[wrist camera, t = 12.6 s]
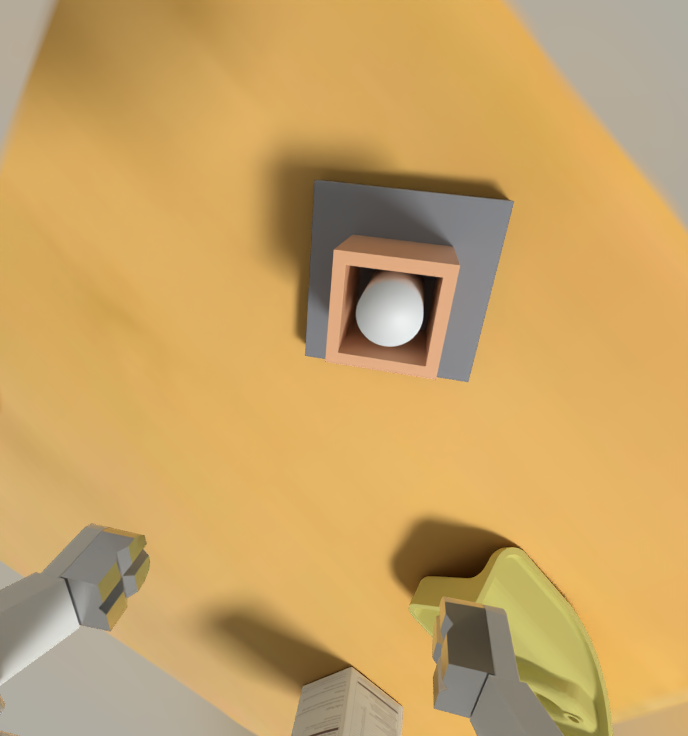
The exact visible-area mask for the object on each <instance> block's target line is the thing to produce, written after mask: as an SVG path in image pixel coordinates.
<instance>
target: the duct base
mask: <svg viewBox="0 0 688 736" xmlns="http://www.w3.org/2000/svg"><path fill="white" fill-rule="evenodd" d="M513 204H514V201H511V200H505V199H495V198H486V197H476V196H467V195H458V194H448V193H439V192H429V191H420V190H411V189H401V188H392V187H383V186H373V185H364V184H354V183H345V182H336V181H326V180H315V184H314V203H313V221H312V239H311V257H310V276H309V294H308V312H307V331H306V349H305V356H310V357H317V358H323V359H325V358H326V345H327V332H328V319H329V306H330V293H331V280H332V267H333V254H334V249H335V248H336V247H338V246H339V245H340V244H341V243H343V242H344V241H345V240H346V239H348V238H349V237H350V236H352V235H361V236H370V237H378V238H386V239H395V240H403V241H411V242H420V243H428V244H436V245H444V246H453V247H454V249H455V252H456V255H457V258H458V261H459V263H460V269H459V273H458V278H457V283H456V288H455V292H454V297H453V302H452V307H451V311H450V316H449V321H448V325H447V330H446V335H445V340H444V344H443V349H442V354H441V359H440V363H439V368H438V373H437V377H440V378H446V379H452V380H458V381H464V382H468V381H469V377H470V373H471V369H472V365H473V361H474V357H475V353H476V350H477V346H478V342H479V338H480V334H481V330H482V326H483V322H484V318H485V314H486V310H487V306H488V302H489V298H490V294H491V290H492V286H493V283H494V279H495V275H496V271H497V267H498V263H499V259H500V255H501V251H502V247H503V243H504V239H505V235H506V231H507V227H508V223H509V219H510V215H511V212H512V208H513ZM435 281H436V277H435V276H427V275H419V274H412V273H404V272H396V271H389V270H381V269H373V268H366V267H360V274H359V284H358V293H357V302H356V312H355V320H357V324H358V326H359V328H360V330H361V332H362V333H363V334H364V335H365V337H367V338H368V339H369V340H370V341H372V342H374V343H376V344H378V345H381V346H388V347H392V346H399V345H402V344H404V343H406V342H408V341H410V340H411V339H412V338H413V337H414V336H415V335H416V334H417V333H418V331H419V329H421V330H426V329H427V323H428V318H429V313H430V308H431V302H432V297H433V292H434V286H435Z"/></svg>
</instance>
